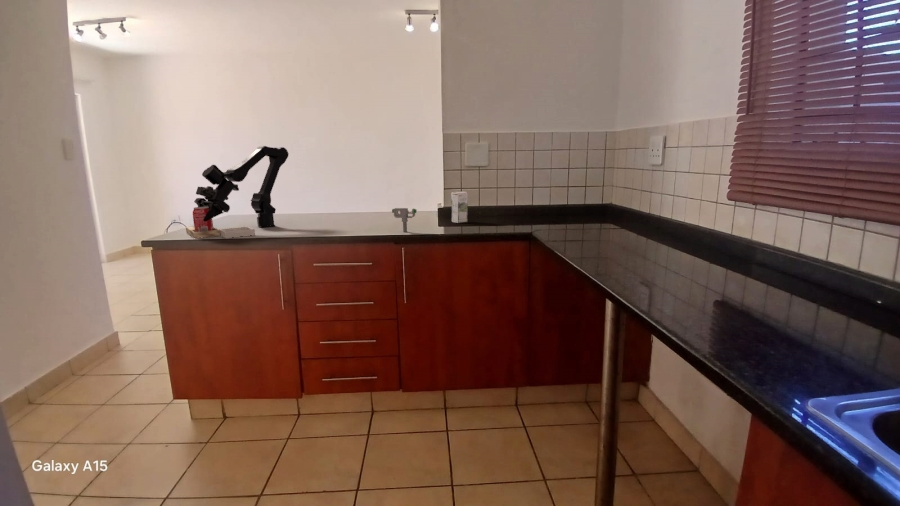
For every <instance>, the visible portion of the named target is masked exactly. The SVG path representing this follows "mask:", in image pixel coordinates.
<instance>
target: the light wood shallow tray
mask: <svg viewBox="0 0 900 506" xmlns="http://www.w3.org/2000/svg"><path fill="white" fill-rule="evenodd" d="M185 230H186V234H187V235H189V234H190V235H191V236H190V235H189V236H190V237H192V238H193V239H194V238H195V239H200V238H199V237H204V238H210V237H209V236H214V237H220V232H219V228H217V227H215V226H213V230H212V231H202V232H195V228H194V226H186V227H185Z"/></svg>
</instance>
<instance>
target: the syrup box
mask: <svg viewBox="0 0 900 506" xmlns="http://www.w3.org/2000/svg"><path fill="white" fill-rule="evenodd" d="M450 197H451V199H450V201H451V208H450V209H451V217H450V218H451V222H452V223H455V224H456V223H457V224H462V223H468V220H469V219H468V215H469V213H468V210H469V209H468V201H469V200H468V197H469V196H468V192H467V191H462V190H461V191H452V192H451V196H450Z"/></svg>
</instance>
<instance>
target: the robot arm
mask: <svg viewBox="0 0 900 506" xmlns="http://www.w3.org/2000/svg"><path fill="white" fill-rule="evenodd" d="M264 157H268V161H269V165H268V167H267V170H266V173H265V176H264V178H263V181H262V184H261V186H260V189H259V191H258V192H254V193H253V194H252V198H251V199H250V202H251V203H250V206H251V208H252V209H253V210H254V213H255V214H257V217H256V223H257V227H259V228H269V227H276V224H275V221H274V220H275V219H274V214H275V213H276V209H277V208H275V207H274V206H273V205H272V203H271V202H272V197H271V194H272V191H273V187H274V185H275V182H276V179H277V177H278V175H279V171H280V169H281V166H282V165H284V164H285V162H286V161H287V159H288V158H289V151H288V150H287V148H285V147H283V146H281V147H270V146H266V145H261V146H258V147H257V148H256V149H255V150H254V151H253V152H252V153H251V154H249V155H248V156H247V157H245V159H244V160H243V161H241V163H238V164H237V165H236V164H235V165H234V166H232V167H230V168H229V169H226V171H222V170H221V169H220V168H219V167H218V166H217V165H216V164H211V166H209V167H207V168H206V169H204V170H203V172H202V173H201V175H202V177H203V178H205V179H206V181H208V182H209V183H210V184H211V185H214V186H215V185H216V187H215V189H214V187H212V186H206V187H205V186H197V189H196V192H195V195H197V196H202V197H196V199H195V200H194V203H195V204H196V205H197V207H209V211H208V212H207V214H206V216H205V217H204V219H203V221H205V222H206V221H208V220H210V219H212V220H213V219H214V218H215V217H218V216H219V215H221V214H224V213H228V212H229V211H230V210H231V207H230V205H229V204H228V203H227V202H226V201H228V200H229V195H230V194H231V193H232V191H236V192H237V191H240V188H239V184H238V183H241V182H243V181H244V180H245V178H247V176H248V174H249V171H250V170H251V169H252V168H253V167H255V166H256V165H257V164H258V163H259V162H260V161H261V160H262V159H264ZM233 182H234V183H233ZM235 183H237V184H235Z"/></svg>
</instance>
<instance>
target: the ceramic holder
mask: <svg viewBox="0 0 900 506" xmlns="http://www.w3.org/2000/svg"><path fill="white" fill-rule="evenodd" d="M218 230H219V232H220V235H221V237H222V236H223V237H222V238H224V239H232V237H234V238H241V237H240V236H243V237H249V236H250V235H252V236H256V230H255V228H252V227H250V226H237V227H228V228H218ZM250 237H251V236H250Z"/></svg>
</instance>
